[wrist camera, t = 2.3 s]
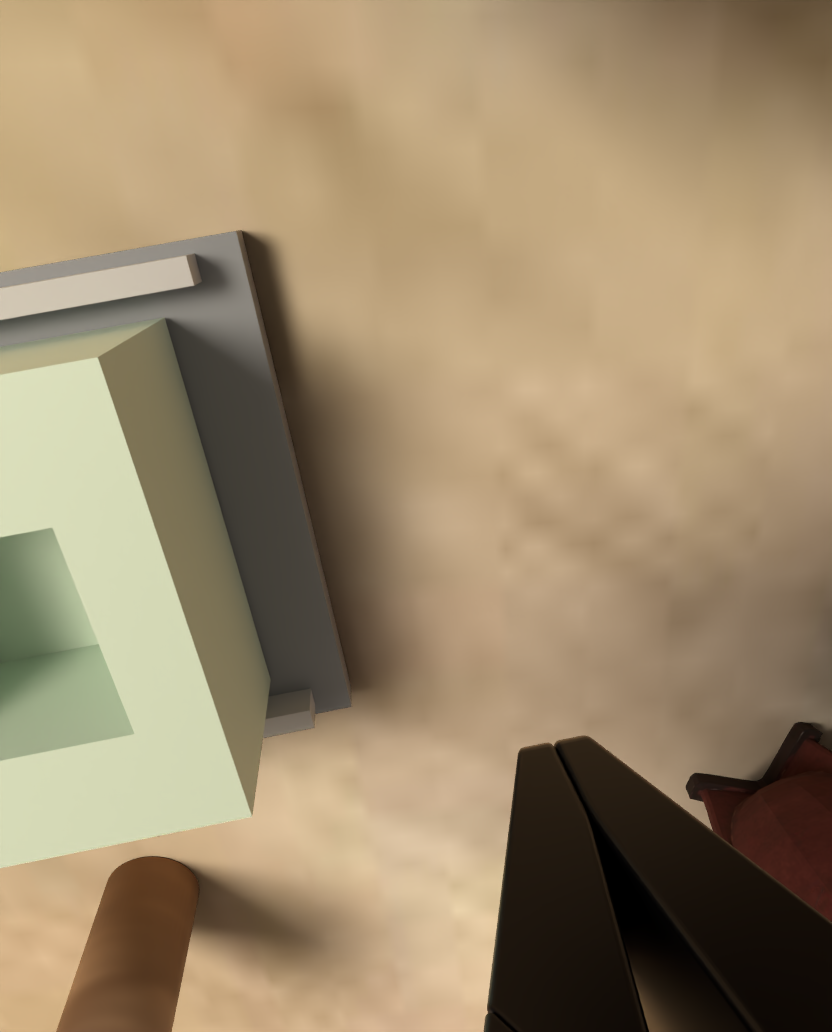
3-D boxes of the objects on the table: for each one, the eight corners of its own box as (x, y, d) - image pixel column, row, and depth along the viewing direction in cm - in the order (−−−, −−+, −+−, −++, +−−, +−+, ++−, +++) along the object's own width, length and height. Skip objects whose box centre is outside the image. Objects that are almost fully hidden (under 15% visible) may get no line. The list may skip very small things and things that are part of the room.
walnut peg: (185, 848, 24) (117, 1134, 16) (210, 911, 25) (157, 1205, 17) (93, 867, 23) (-17, 1163, 16) (122, 929, 25) (33, 1232, 17)
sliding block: (164, 317, 16) (97, 357, 12) (270, 679, 20) (252, 816, 16) (-195, 382, 16) (-409, 449, 11) (-17, 736, 20) (-122, 892, 15)
